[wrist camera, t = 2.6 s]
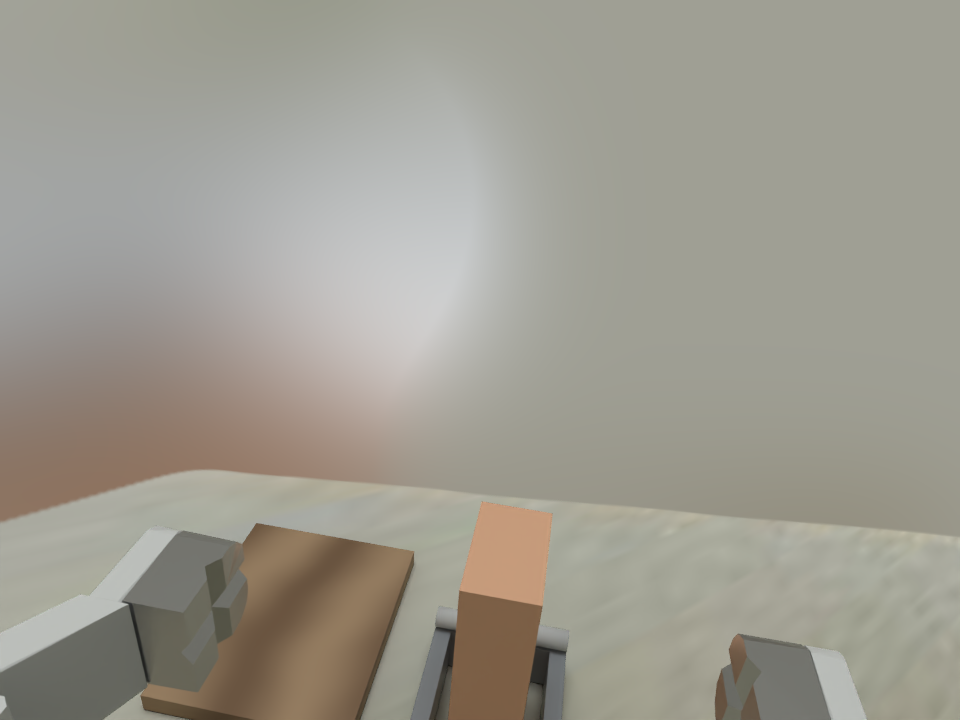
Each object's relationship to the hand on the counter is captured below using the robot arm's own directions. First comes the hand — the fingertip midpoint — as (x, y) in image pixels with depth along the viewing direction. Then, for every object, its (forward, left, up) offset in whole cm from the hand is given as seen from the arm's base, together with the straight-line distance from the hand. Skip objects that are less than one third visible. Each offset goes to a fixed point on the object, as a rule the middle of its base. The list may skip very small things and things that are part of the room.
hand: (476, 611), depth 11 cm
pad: (+11, -16, -22) cm, 29 cm away
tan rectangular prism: (0, -12, -22) cm, 25 cm away
